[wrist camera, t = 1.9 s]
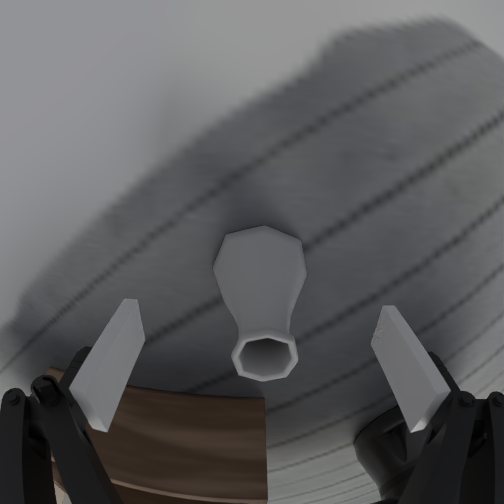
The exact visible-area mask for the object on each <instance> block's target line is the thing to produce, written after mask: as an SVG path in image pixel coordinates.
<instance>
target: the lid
mask: <svg viewBox="0 0 504 504" xmlns="http://www.w3.org/2000/svg"><path fill="white" fill-rule="evenodd" d="M62 504H72V503H71V501H70V499H69V496H68V495H67V494H64V498H63V502H62Z"/></svg>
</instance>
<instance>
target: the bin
mask: <svg viewBox="0 0 504 504" xmlns="http://www.w3.org/2000/svg"><path fill="white" fill-rule="evenodd" d="M64 373H65V371H64V370H60V369H56V368H53V367H49V369H48V370H47V372H46V373H45V375H52V376H53V377H55V378H56V379H57V381H58V383H59V381H60V380H61V378H62V376H63V375H64ZM30 397H34V395H33V393H32V394H31V395H30ZM85 428H86V430H87V432H88V434H89V436H90V439H91V441H92V443H93V446H94V448H95V450H96V452H97V454H98V456H99V458H100V460H101V463H102V465H103V467H104V469H105V470H106V472H107V474H108V476H109V478H110V480H111V482H112V484H113V485H114V487H115V489H116V491H117V493H118V494H119V496H120V498H121V499H122V501H123V503H124V504H267V501H268V487H267V458H266V430H265V403H264V398H248V397H224V396H209V395H197V394H187V393H178V392H170V391H162V390H155V389H148V388H142V387H136V386H130V385H126V386H125V389H124V391H123V394H122V396H121V399H120V401H119V404H118V406H117V409H116V411H115V414H114V416H113V419H112V421H111V424H110V427H109V429H108V432H104V431H100V430H97V429H93V428H92V427H91V425H90V424H89V422H87V424H86V426H85ZM51 460H52V471H53V480H54V483H55V484H56V485H57V486H58V487H59V488H61V489H62V490H63V491H64V492H65V493H66V494H67V492H66V489H65V487H64V484H63V482H62V479H61V477H60V474H59V471H58V469H57V466H56V463H55V460H54V457H53V454H52V451H51Z"/></svg>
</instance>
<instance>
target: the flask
mask: <svg viewBox="0 0 504 504" xmlns="http://www.w3.org/2000/svg"><path fill="white" fill-rule="evenodd" d="M212 268H213V271H214V274H215V277H216V280H217V283H218V286H219V289H220V292H221V295H222V298H223V300H224V302H225V304H226V306H227V307H228V309H229V310H230V312H231V314H232V315H233V317H234V319H235V321H236V323H237V327H238V331H239V336H238V342H237V344H236V346H235V347H234V349H233V351H232V354H231V358H232V360H233V363H234V365H235V368H236V370H237V373H238V375H240V376H243V377H247V378H250V379H254V380H258V381H261V382H263V381H269V380H274V379H280V378H285V377H287V376H288V375H289V373H290V372H291V371H292V369H293V368H294V366H295V365H296V363H297V362H298V361H299V358H298V353H297V348H296V343H295V339H294V337H293V335H290V334H289V329H290V320H291V315H292V312H293V309H294V307H295V304H296V301H297V298H298V296H299V293H300V291H301V289H302V287H303V284H304V282H305V280H306V277H307V270H306V264H305V259H304V253H303V248H302V243H301V240H299V239H297V238H295V237H292V236H290V235H288V234H285V233H283V232H280V231H278V230H276V229H273V228H271V227H268V226H266V225H263V226H259V227H255V228H250V229H246V230H242V231H238V232H234V233H229V234H226V236H225V238H224V240H223V243H222V245H221V248H220V250H219V253H218V255H217V258H216V260H215V263H214V265H213V267H212Z"/></svg>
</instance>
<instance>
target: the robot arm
mask: <svg viewBox="0 0 504 504" xmlns="http://www.w3.org/2000/svg"><path fill="white" fill-rule="evenodd" d="M144 342H145V336H144V331H143V326H142V321H141V316H140V311H139V306H138V300H137V299H126V298H124V300H123V301H122V303H121V304H120V306H119V307H118V309H117V310H116V312H115V313H114V315H113V316H112V318H111V320H110V321H109V323H108V324H107V326H106V327H105V329H104V330H103V332H102V334H101V335H100V337H99V338H98V340H97V342H96V343H95V345H94V346H93V348H92V347H87V346H85V347H84V348H82V349H81V350H80V351H79V352H77V354H76V355H75V357H74V359H73V361H72V362H71V363H70V365H69V367H68V368H67V370H66V371H65V373H64V375H63V376H62V378H61V380H60V381H59V383H58V381H57V379H56V378H55V377H53V376H52V375H42V376H39V377H37V378H36V379H35V380H34V381H33V383H32V384H31V392H32V393H33V395H34V397H28V396H26V395H25V394H24V392H23V391H22V390H21V389H19V388H13V389H10V390H8V391H7V392H6V393H5V394H4V395H3V398H2V403H1V409H0V504H57V502H56V495H55V488H54V480H53V471H52V460H51V451H52V454H53V457H54V460H55V463H56V466H57V469H58V471H59V474H60V477H61V479H62V482H63V484H64V487H65V489H66V492H67V494H68V496H69V499H70V501H71V503H72V504H124V503H123V501H122V499H121V498H120V496H119V494H118V493H117V491H116V489H115V487H114V485H113V484H112V482H111V480H110V478H109V476H108V474H107V472H106V470H105V469H104V467H103V465H102V463H101V460H100V458H99V456H98V454H97V452H96V450H95V448H94V446H93V443H92V441H91V439H90V436H89V434H88V432H87V430H86V428H85V426H86V424H87V422H89V424H90V425H91V427H92V428H93V429H97V430H100V431H104V432H108V429H109V427H110V424H111V421H112V419H113V416H114V414H115V411H116V409H117V406H118V404H119V401H120V399H121V396H122V394H123V391H124V389H125V386H126V384H127V381H128V379H129V377H130V374H131V372H132V369H133V367H134V365H135V362H136V360H137V358H138V356H139V353H140V351H141V349H142V346H143V344H144ZM371 346H372V348H373V350H374V353H375V355H376V357H377V359H378V361H379V363H380V365H381V367H382V369H383V371H384V374H385V376H386V378H387V380H388V382H389V384H390V387H391V389H392V391H393V393H394V395H395V398H396V400H397V402H398V404H399V406H398V407H396V408H394V409H392V410H390V411H388V412H387V413H385V414H383V415H382V416H380V417H379V418H377V419H376V420H374V421H373V422H372V423H370V424H369V425H368V426H367V427H366V428H365V429H364V430H363V431H362V432H361V433H360V434H359V435H358V437H357V438H356V440H355V443H354V448H355V452H356V455H357V459H358V461H359V462H360V463H361V465H362V466H363V467H364V469H365V470H366V471H367V473H368V474H369V475H370V477H371V478H372V479H373V480H374V482H375V483H376V484H377V486H378V488H379V492H380V496H381V501H378V502H375V503H372V504H504V395H503V394H502V393H500V392H497V391H496V392H492V393H490V395H489V396H488V398H487V399H475V397H474V396H473V395H472V394H471V393H469V392H466V391H460V389H459V387H458V386H457V384H456V383H455V381H454V380H453V378H452V376H451V375H450V373H449V372H447V369H446V367H445V366H444V364H443V363H442V361H441V360H440V358H439V357H438V356H437V355H435V354H434V353H433V352H432V351H431V352H426V350H425V349H424V347H423V346H422V344H421V343H420V341H419V340H418V338H417V337H416V335H415V334H414V332H413V331H412V329H411V328H410V327H409V325H408V324H407V322H406V321H405V319H404V318H403V317H402V315H401V314H400V312H399V311H398V310H397V308H396V307H395V305H386V306H382V310H381V313H380V316H379V320H378V323H377V326H376V329H375V332H374V335H373V338H372V341H371Z"/></svg>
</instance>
